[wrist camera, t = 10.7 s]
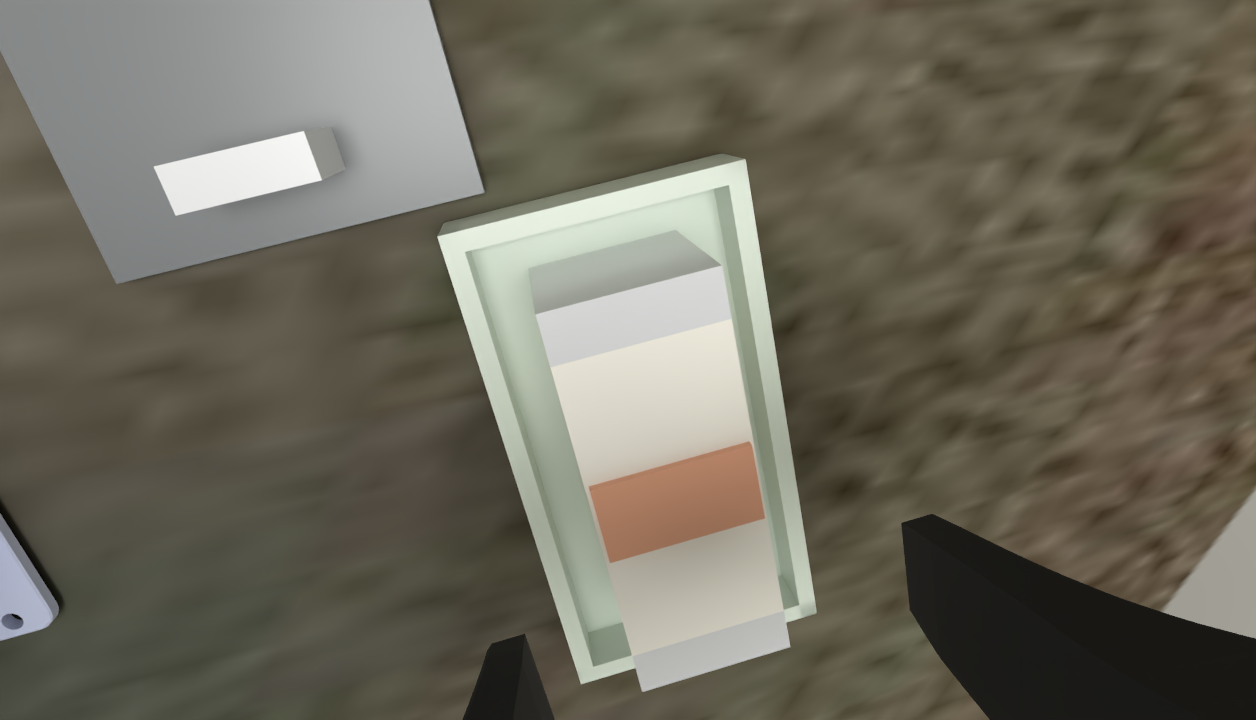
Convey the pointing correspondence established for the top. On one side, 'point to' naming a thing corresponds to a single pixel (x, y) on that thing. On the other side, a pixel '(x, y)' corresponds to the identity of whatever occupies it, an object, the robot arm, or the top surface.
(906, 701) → the top surface
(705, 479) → the fuse
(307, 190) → the board
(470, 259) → the tray
